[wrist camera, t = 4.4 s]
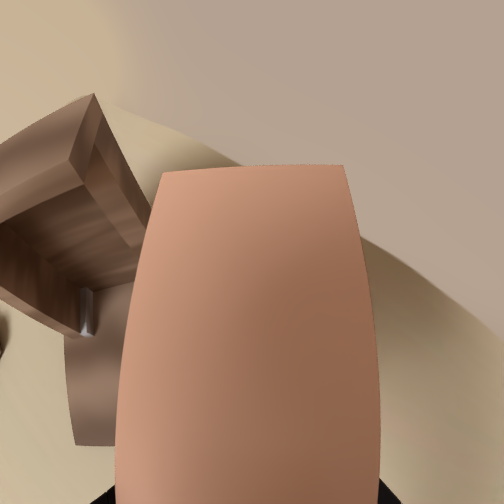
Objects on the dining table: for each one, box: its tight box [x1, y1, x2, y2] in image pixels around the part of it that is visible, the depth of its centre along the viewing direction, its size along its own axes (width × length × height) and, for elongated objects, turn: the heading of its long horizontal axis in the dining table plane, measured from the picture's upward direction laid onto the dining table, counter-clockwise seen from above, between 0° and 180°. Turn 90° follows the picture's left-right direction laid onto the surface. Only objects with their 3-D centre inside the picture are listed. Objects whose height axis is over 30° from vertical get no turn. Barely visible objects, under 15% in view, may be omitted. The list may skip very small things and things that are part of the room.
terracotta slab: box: [115, 165, 381, 504], centre depth 9 cm, size 10×4×12 cm, turn 179°
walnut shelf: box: [0, 93, 152, 446], centre depth 13 cm, size 14×13×16 cm
